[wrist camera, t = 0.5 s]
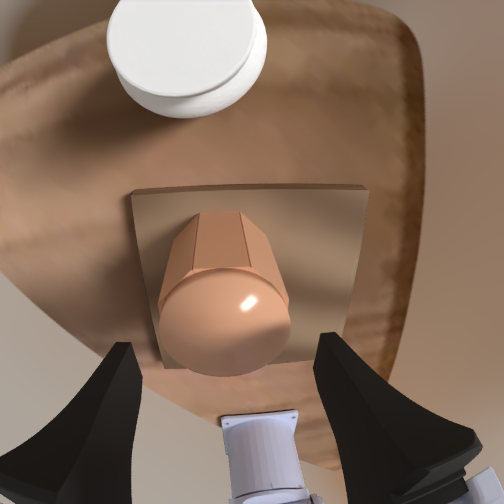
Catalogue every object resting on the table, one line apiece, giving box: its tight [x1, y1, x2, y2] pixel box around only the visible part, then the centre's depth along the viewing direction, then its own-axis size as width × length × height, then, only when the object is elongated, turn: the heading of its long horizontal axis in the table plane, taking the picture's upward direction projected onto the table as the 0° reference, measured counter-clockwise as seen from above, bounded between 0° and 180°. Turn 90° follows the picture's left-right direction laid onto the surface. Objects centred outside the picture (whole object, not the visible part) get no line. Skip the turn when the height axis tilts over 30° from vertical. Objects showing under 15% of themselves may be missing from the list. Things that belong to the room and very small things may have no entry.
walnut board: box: [131, 184, 369, 369], centre depth 21 cm, size 14×14×1 cm
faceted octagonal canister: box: [158, 211, 291, 377], centre depth 16 cm, size 6×6×7 cm
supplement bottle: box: [107, 0, 267, 118], centre depth 10 cm, size 5×5×10 cm
